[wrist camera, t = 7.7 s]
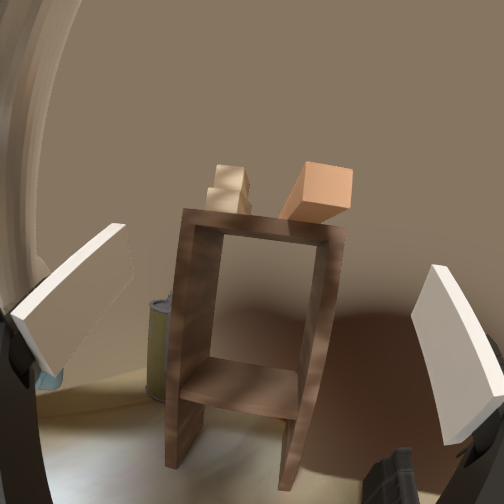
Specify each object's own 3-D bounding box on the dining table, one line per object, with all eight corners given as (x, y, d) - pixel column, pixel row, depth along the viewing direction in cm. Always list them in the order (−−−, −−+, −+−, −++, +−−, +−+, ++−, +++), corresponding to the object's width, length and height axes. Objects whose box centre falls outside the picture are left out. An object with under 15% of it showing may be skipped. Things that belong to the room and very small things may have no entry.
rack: (165, 466, 29) (193, 151, 29) (195, 419, 43) (222, 182, 43) (289, 491, 27) (351, 167, 27) (291, 436, 41) (332, 194, 41)
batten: (350, 208, 17) (352, 169, 17) (302, 200, 18) (306, 161, 18) (296, 234, 45) (298, 218, 45) (277, 232, 46) (279, 216, 46)
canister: (150, 376, 56) (156, 283, 56) (199, 383, 57) (209, 290, 57) (140, 400, 45) (144, 292, 45) (198, 409, 46) (208, 301, 46)
